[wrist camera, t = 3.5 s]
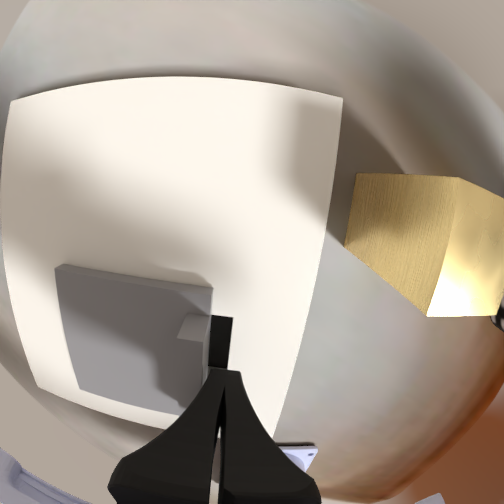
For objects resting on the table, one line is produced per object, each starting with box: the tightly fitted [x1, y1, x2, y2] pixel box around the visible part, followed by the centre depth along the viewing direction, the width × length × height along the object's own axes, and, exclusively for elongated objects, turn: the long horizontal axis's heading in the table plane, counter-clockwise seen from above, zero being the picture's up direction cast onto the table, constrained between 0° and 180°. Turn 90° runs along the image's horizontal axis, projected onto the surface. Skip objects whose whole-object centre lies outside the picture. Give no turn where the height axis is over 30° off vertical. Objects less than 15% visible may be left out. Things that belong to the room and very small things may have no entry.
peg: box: [344, 173, 504, 316], centre depth 10 cm, size 4×4×8 cm
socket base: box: [0, 77, 343, 438], centre depth 13 cm, size 20×18×2 cm
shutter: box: [54, 264, 214, 417], centre depth 12 cm, size 8×8×3 cm
